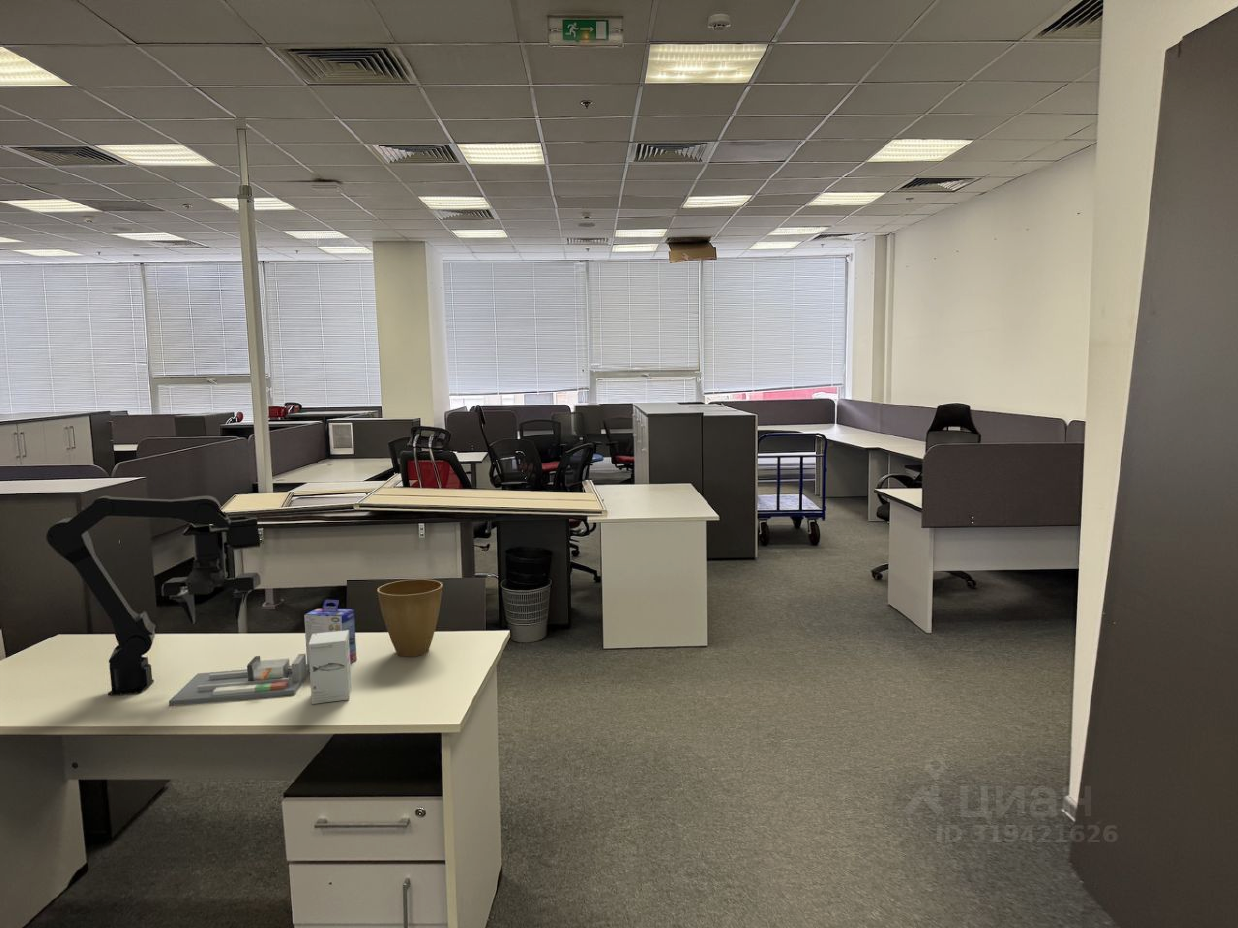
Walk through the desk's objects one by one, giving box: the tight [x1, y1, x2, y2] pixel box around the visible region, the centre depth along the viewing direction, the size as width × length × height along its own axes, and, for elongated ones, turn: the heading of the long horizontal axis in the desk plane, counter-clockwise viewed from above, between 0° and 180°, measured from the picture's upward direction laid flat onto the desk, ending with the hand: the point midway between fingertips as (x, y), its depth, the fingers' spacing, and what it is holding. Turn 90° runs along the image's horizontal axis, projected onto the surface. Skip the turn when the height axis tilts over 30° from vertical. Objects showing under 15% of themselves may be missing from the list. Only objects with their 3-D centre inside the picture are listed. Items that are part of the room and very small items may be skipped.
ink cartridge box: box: [303, 599, 357, 664], centre depth 172 cm, size 10×6×14 cm, turn 78°
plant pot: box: [377, 578, 444, 658], centre depth 177 cm, size 15×15×16 cm
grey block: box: [246, 655, 291, 681], centre depth 158 cm, size 7×10×4 cm
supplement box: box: [308, 630, 352, 705], centre depth 153 cm, size 7×7×13 cm
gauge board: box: [168, 653, 310, 707], centre depth 160 cm, size 24×15×5 cm, turn 100°
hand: (215, 621), depth 166 cm, fingers open, 9 cm apart
